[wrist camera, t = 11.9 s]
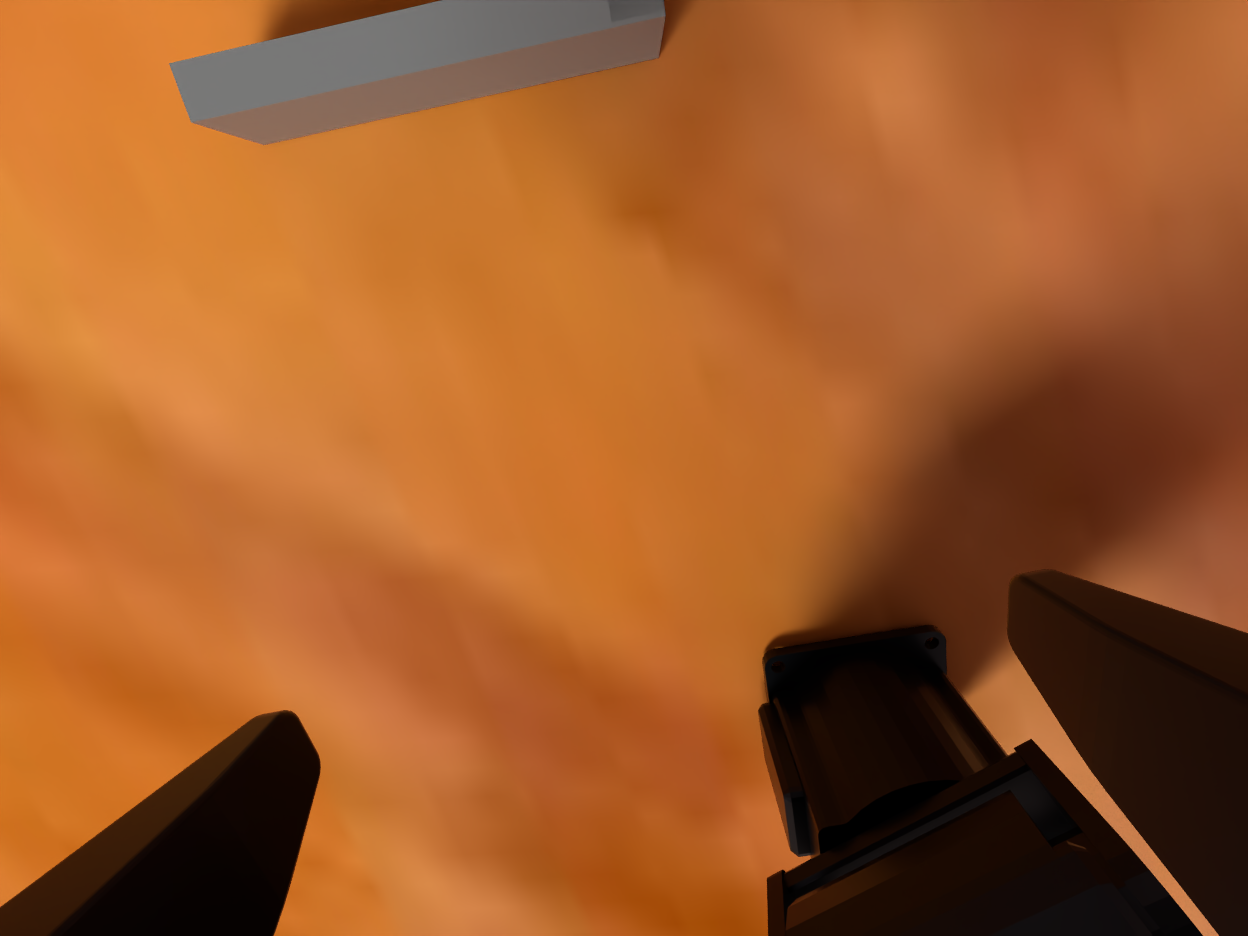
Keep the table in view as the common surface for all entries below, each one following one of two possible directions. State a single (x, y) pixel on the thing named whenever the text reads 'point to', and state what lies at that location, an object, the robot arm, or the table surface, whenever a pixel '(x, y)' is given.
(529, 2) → the corner wall
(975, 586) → the table surface
